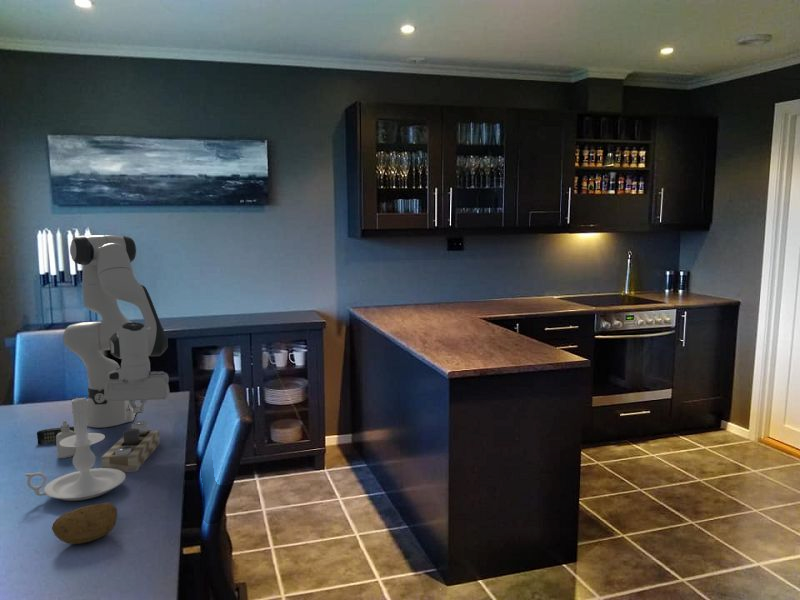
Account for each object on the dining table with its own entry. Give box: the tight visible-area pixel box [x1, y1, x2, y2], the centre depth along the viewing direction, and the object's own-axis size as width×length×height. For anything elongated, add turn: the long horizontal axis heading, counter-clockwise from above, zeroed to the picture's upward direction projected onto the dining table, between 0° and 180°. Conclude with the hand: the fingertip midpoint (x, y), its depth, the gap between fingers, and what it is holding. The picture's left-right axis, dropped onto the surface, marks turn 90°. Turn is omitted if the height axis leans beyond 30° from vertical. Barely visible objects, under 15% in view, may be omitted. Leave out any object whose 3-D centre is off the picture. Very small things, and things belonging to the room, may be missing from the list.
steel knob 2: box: [131, 420, 148, 437], centre depth 209 cm, size 5×5×5 cm
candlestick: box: [24, 396, 126, 502], centre depth 173 cm, size 21×25×28 cm
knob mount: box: [100, 429, 160, 473], centre depth 202 cm, size 24×10×5 cm, turn 5°
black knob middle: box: [122, 428, 139, 446], centre depth 201 cm, size 5×5×5 cm
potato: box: [51, 502, 118, 545], centre depth 149 cm, size 10×14×8 cm
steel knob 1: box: [115, 446, 131, 455], centre depth 194 cm, size 5×5×5 cm
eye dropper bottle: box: [55, 419, 76, 460], centre depth 204 cm, size 4×6×12 cm
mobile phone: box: [36, 426, 76, 445], centre depth 218 cm, size 5×3×15 cm
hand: (138, 412), depth 208 cm, fingers closed
